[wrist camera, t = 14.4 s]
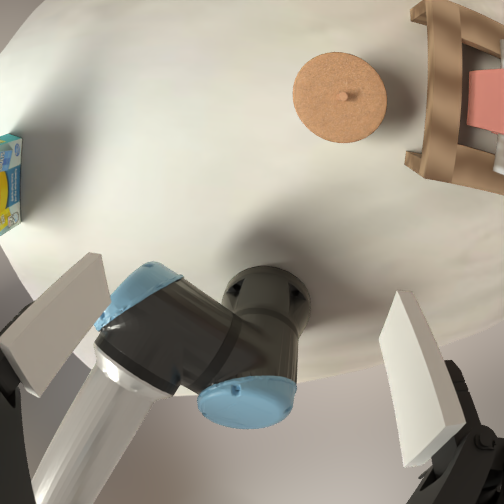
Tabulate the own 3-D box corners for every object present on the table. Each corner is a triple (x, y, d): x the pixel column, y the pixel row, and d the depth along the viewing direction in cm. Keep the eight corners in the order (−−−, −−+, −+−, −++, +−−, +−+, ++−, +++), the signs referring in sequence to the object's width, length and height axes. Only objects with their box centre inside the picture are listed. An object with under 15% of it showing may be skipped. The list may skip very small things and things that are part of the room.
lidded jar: (380, 128, 36) (401, 135, 28) (306, 144, 39) (308, 154, 31) (359, 55, 32) (375, 42, 24) (283, 71, 35) (278, 61, 27)
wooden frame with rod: (496, 184, 35) (530, 205, 27) (404, 164, 38) (430, 182, 29) (506, 46, 24) (542, 42, 15) (410, 9, 26) (436, -11, 18)
